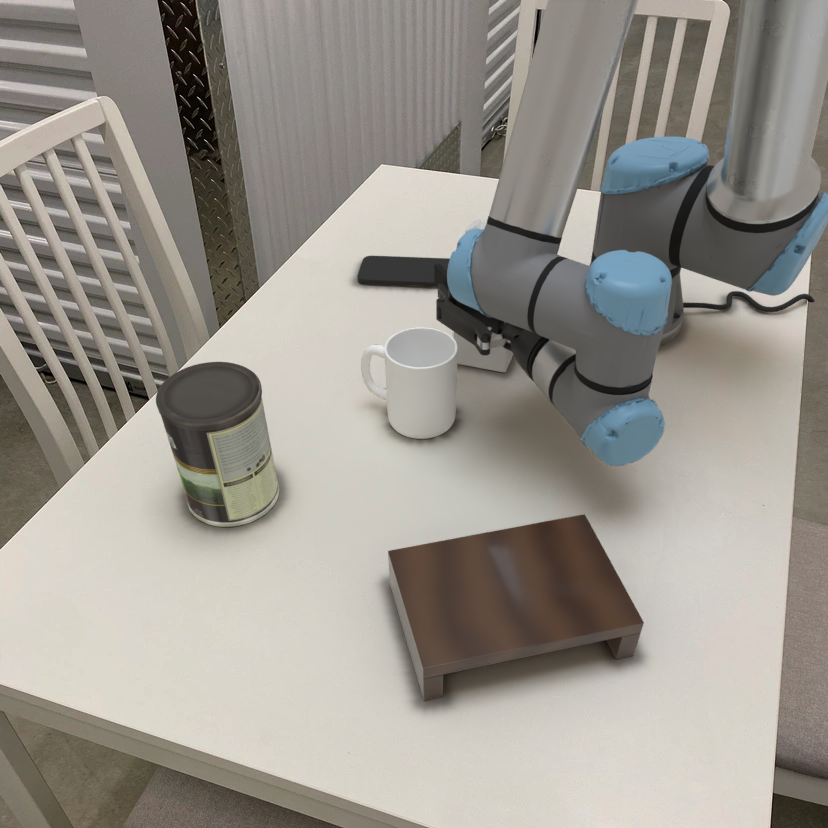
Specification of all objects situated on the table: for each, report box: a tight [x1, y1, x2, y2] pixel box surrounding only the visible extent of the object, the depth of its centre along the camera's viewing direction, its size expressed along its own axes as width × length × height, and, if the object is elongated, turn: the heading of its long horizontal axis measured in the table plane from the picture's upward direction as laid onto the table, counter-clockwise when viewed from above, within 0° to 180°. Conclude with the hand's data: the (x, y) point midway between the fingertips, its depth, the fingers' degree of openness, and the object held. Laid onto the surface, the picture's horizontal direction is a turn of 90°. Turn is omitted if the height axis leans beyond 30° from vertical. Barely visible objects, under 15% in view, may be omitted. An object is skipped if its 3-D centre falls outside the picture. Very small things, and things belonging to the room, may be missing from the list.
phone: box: [356, 255, 450, 288], centre depth 123 cm, size 7×1×15 cm
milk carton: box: [453, 218, 514, 373], centre depth 102 cm, size 7×7×19 cm
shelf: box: [387, 513, 645, 701], centre depth 77 cm, size 20×14×5 cm
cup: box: [360, 326, 458, 440], centre depth 96 cm, size 8×12×10 cm
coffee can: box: [155, 361, 281, 528], centre depth 86 cm, size 10×10×14 cm
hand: (475, 265), depth 104 cm, fingers closed on milk carton, 10 cm apart
